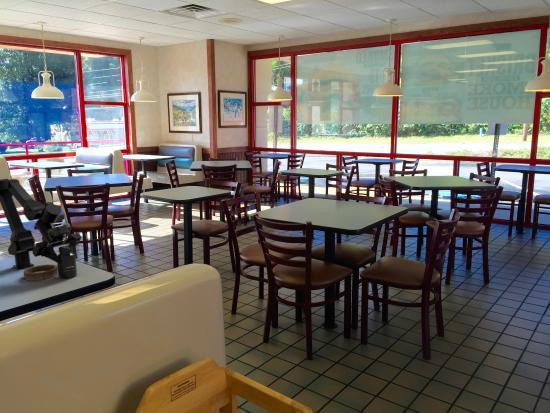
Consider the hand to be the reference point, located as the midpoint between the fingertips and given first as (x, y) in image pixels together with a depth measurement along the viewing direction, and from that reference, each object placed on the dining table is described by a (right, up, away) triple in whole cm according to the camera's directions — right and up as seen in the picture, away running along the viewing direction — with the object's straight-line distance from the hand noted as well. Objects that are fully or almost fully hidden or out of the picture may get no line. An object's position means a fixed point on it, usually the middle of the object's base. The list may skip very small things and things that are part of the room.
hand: (68, 260), depth 184 cm
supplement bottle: (-1, -7, +2) cm, 7 cm away
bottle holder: (-13, -6, +4) cm, 15 cm away
